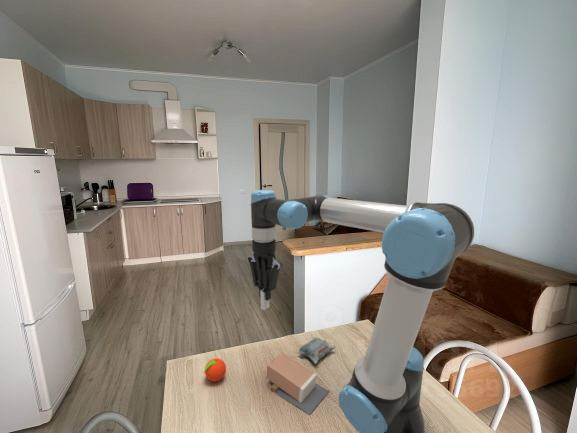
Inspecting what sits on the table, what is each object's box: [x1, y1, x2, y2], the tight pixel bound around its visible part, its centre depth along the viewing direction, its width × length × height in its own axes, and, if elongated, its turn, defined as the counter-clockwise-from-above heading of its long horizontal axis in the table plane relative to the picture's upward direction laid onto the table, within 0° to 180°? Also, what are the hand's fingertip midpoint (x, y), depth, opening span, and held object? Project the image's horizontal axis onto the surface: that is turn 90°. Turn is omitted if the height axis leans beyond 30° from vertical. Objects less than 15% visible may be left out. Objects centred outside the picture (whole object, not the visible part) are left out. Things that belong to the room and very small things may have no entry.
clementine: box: [203, 357, 227, 383], centre depth 98 cm, size 8×7×7 cm
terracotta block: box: [265, 352, 318, 403], centre depth 95 cm, size 5×8×14 cm
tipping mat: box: [270, 383, 330, 416], centre depth 94 cm, size 15×11×2 cm
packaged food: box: [298, 337, 336, 365], centre depth 111 cm, size 9×12×5 cm
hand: (265, 307), depth 98 cm, fingers closed
